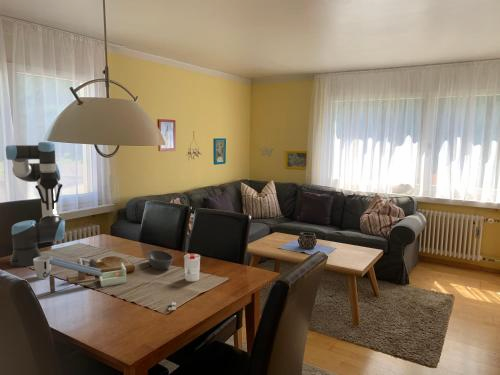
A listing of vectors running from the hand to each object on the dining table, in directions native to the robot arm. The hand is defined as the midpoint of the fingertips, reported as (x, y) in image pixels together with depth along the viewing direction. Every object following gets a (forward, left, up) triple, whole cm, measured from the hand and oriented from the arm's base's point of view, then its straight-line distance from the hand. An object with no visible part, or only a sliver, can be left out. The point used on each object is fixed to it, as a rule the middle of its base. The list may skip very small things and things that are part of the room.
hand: (51, 215), depth 196 cm
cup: (+11, -5, -30) cm, 32 cm away
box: (+32, +26, -29) cm, 51 cm away
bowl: (+21, +52, -30) cm, 63 cm away
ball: (+32, +28, -27) cm, 51 cm away
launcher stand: (+25, +8, -29) cm, 39 cm away
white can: (+47, +62, -30) cm, 83 cm away
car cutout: (+77, +43, -30) cm, 93 cm away
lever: (+26, +9, -21) cm, 34 cm away
